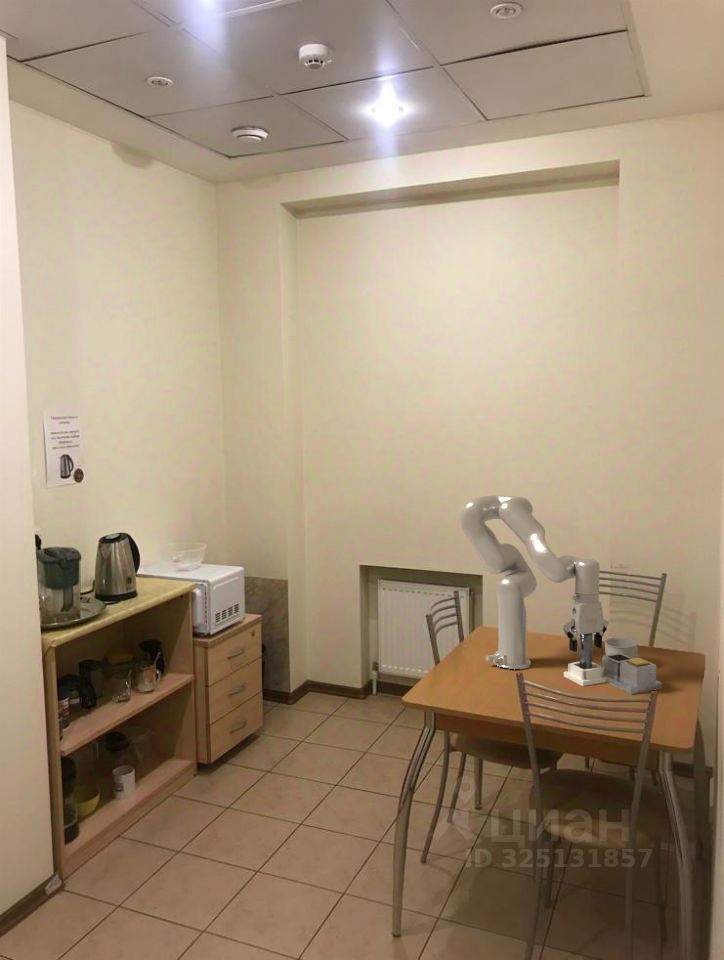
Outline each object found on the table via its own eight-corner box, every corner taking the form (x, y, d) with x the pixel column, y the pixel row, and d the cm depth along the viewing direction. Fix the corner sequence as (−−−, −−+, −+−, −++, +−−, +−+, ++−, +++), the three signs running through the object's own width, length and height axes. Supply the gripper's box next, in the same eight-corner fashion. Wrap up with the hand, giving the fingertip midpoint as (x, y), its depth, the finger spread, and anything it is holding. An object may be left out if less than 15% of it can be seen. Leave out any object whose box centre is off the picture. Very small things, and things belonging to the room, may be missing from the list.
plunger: (637, 682, 242) (637, 663, 241) (627, 677, 246) (627, 659, 245) (648, 680, 243) (648, 661, 243) (638, 675, 247) (638, 657, 247)
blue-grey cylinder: (584, 677, 250) (584, 631, 249) (576, 673, 254) (577, 628, 253) (594, 675, 252) (595, 630, 250) (586, 671, 255) (587, 627, 254)
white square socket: (582, 686, 246) (583, 672, 246) (563, 676, 256) (563, 662, 255) (608, 681, 250) (608, 668, 250) (588, 672, 259) (588, 658, 259)
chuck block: (630, 694, 239) (631, 669, 238) (594, 676, 255) (594, 652, 254) (661, 688, 243) (662, 664, 242) (623, 671, 259) (624, 648, 259)
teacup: (641, 668, 262) (642, 645, 261) (610, 669, 262) (610, 646, 261) (627, 655, 276) (628, 633, 275) (597, 655, 276) (597, 634, 275)
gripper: (571, 603, 244) (570, 655, 245) (616, 597, 250) (614, 649, 252) (557, 597, 251) (556, 648, 252) (601, 592, 257) (599, 642, 259)
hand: (585, 649), depth 252 cm, fingers open, 9 cm apart
